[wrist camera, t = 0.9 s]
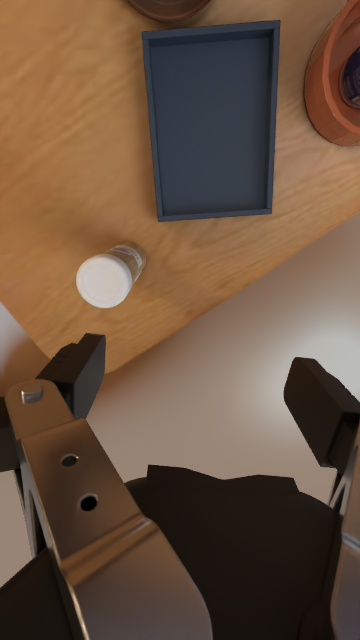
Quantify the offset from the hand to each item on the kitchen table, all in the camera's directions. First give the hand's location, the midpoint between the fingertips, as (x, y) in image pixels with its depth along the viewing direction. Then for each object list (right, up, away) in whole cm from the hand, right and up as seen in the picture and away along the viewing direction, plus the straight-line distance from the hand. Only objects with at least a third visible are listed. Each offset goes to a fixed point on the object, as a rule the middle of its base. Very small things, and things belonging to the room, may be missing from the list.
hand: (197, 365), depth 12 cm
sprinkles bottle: (-7, +10, +25) cm, 28 cm away
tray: (+3, +23, +20) cm, 30 cm away
